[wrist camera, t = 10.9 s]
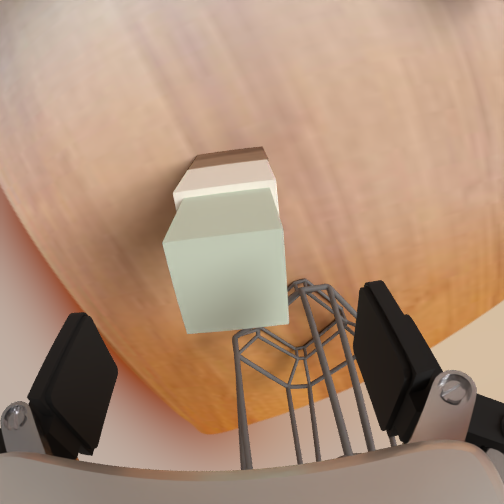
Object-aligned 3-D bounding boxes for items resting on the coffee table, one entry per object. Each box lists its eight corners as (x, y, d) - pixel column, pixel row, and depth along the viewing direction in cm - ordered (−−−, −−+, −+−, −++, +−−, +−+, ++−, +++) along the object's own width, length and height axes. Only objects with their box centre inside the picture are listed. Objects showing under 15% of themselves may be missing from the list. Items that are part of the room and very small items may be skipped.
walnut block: (198, 154, 29) (188, 168, 24) (262, 146, 29) (268, 158, 23) (207, 214, 32) (201, 240, 26) (268, 206, 32) (275, 231, 26)
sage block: (183, 198, 18) (162, 242, 13) (269, 187, 18) (283, 228, 13) (198, 271, 21) (187, 333, 15) (276, 263, 21) (289, 323, 15)
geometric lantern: (382, 311, 38) (486, 575, 8) (290, 375, 44) (322, 618, 13) (305, 232, 33) (426, 645, 2) (204, 319, 38) (182, 638, 7)
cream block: (187, 169, 24) (172, 193, 18) (267, 159, 24) (275, 179, 18) (200, 241, 26) (192, 280, 21) (274, 232, 26) (283, 270, 21)
